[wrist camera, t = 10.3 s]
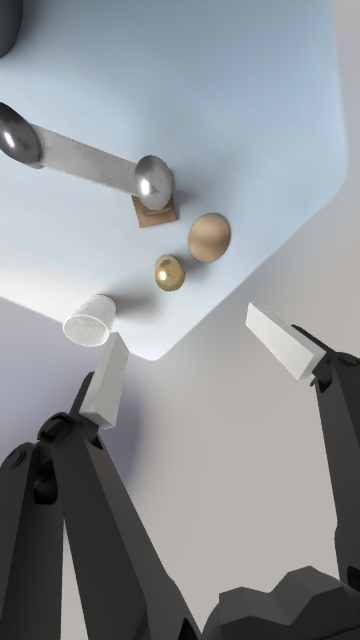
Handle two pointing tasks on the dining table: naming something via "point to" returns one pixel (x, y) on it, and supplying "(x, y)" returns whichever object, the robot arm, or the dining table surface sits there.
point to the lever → (84, 160)
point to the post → (154, 213)
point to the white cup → (91, 321)
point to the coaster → (208, 238)
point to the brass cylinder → (169, 273)
